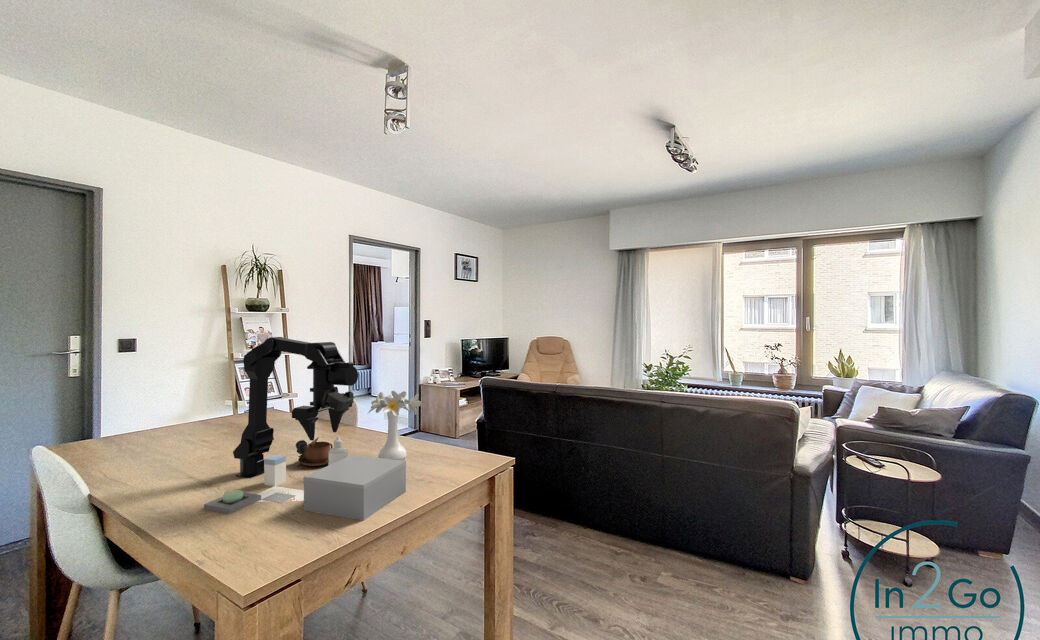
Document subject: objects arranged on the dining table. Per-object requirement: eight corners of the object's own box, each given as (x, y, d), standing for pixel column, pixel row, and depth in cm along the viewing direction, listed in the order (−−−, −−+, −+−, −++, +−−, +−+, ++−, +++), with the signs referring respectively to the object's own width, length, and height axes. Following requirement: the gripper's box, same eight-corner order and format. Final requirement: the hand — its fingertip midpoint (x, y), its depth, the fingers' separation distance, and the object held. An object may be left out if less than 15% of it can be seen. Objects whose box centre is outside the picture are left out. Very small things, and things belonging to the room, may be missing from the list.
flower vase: (426, 460, 150) (426, 389, 150) (384, 476, 134) (384, 397, 134) (401, 453, 157) (401, 385, 157) (358, 468, 141) (358, 393, 141)
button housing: (203, 510, 110) (203, 504, 110) (236, 496, 119) (236, 490, 119) (229, 515, 108) (229, 509, 108) (261, 500, 116) (261, 495, 116)
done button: (219, 501, 112) (219, 495, 112) (234, 495, 116) (234, 489, 116) (231, 504, 110) (231, 497, 110) (247, 497, 115) (246, 491, 115)
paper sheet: (236, 503, 114) (236, 502, 114) (274, 487, 126) (274, 485, 126) (283, 512, 109) (283, 510, 109) (318, 493, 121) (318, 492, 121)
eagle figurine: (307, 467, 142) (307, 441, 142) (289, 465, 144) (289, 438, 144) (322, 460, 150) (323, 434, 149) (305, 457, 151) (306, 432, 151)
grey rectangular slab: (303, 511, 110) (303, 476, 109) (352, 485, 127) (352, 454, 127) (363, 522, 104) (363, 485, 104) (405, 492, 121) (405, 461, 121)
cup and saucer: (310, 455, 152) (310, 438, 152) (343, 457, 152) (343, 440, 152) (290, 468, 140) (291, 449, 140) (326, 470, 140) (326, 451, 140)
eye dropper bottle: (338, 477, 133) (338, 439, 133) (326, 474, 136) (326, 436, 136) (349, 472, 137) (349, 435, 137) (338, 469, 140) (337, 433, 140)
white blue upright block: (264, 485, 127) (264, 458, 127) (275, 480, 131) (275, 454, 131) (274, 487, 126) (274, 460, 126) (286, 482, 129) (285, 456, 129)
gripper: (322, 390, 116) (322, 447, 116) (366, 381, 134) (366, 430, 134) (290, 388, 119) (290, 443, 119) (337, 379, 137) (337, 427, 137)
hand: (323, 436), depth 127 cm, fingers open, 9 cm apart
